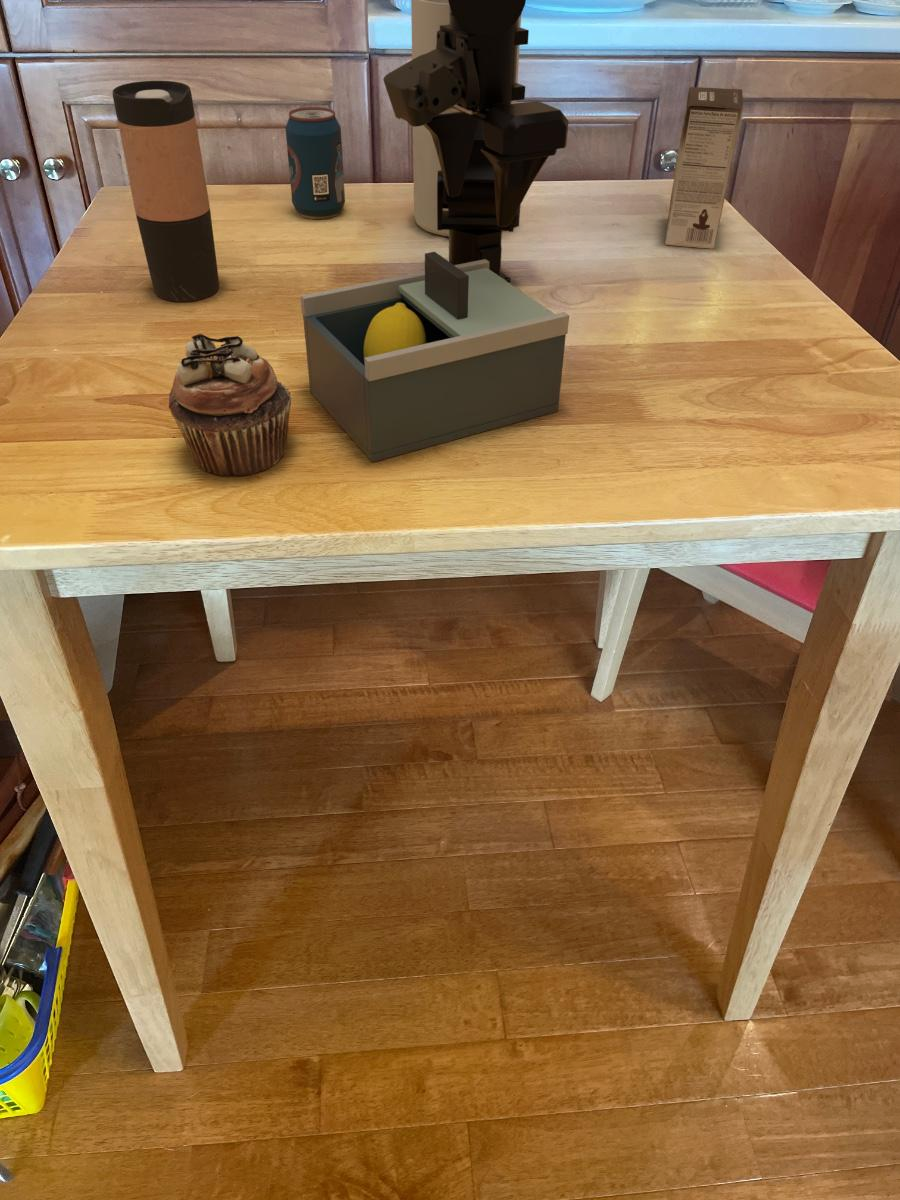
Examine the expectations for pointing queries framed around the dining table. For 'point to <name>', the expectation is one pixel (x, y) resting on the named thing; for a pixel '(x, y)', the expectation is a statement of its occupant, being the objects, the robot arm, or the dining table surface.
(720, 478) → the dining table surface
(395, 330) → the lemon
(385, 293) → the chest
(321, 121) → the soda can
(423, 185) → the cylinder vase
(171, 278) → the travel mug
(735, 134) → the coffee box
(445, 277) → the slide door
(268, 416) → the cupcake
